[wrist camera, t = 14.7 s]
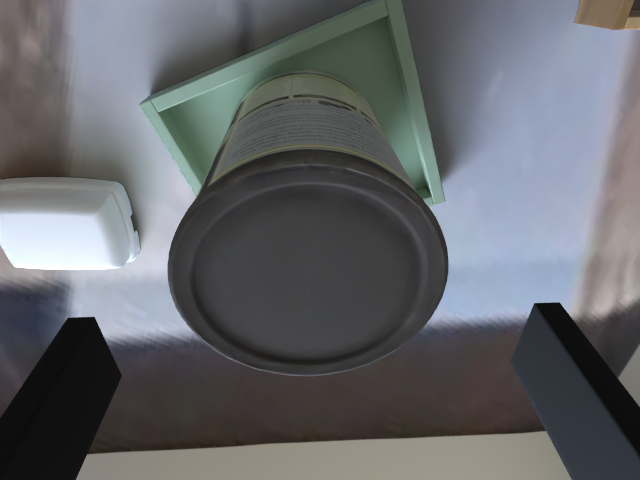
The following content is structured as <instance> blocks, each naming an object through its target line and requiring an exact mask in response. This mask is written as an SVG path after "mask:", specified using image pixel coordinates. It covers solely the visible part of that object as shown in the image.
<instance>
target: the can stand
mask: <svg viewBox="0 0 640 480" xmlns="http://www.w3.org/2000/svg"><path fill="white" fill-rule="evenodd" d="M633 3H634V0H581V2H580V5H579V8H578V11H577V14H576V18H575V21H574V23H578V24H584V25H589V26H595V27H600V28H606V29H611V30H623V29H624V30H630V29H640V10H631V8H632V6H633Z"/></svg>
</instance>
